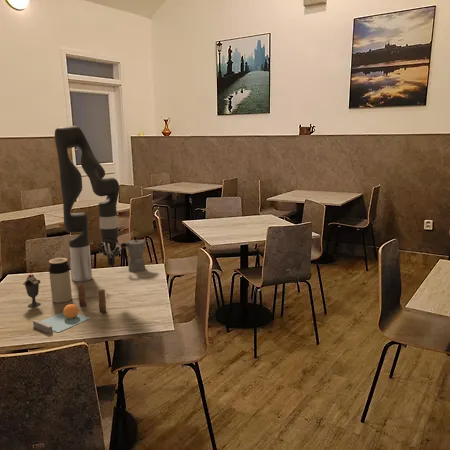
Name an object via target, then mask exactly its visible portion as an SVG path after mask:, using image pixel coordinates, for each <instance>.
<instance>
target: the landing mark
mask: <svg viewBox="0 0 450 450" xmlns="http://www.w3.org/2000/svg"><path fill="white" fill-rule="evenodd" d="M90 319H91V318H90V317H88V316H84V315H82V314H79V313H78V315H77V316H76V317H75V318H72V319H69V318H66V317H65V316H64V314H63V311H62V312H60V313H57V314H55V315H53V316H50V317H48V318H45V319H42V320H39V321H40V322H43V323H45V324H48V325H50V326H52V332H55V333H57V334H58V333H60V332H63V331H65V330H68V329H69V328H73V327H75V326H77V325H79V324H81V323H83V322H86V321H88V320H90Z"/></svg>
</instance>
